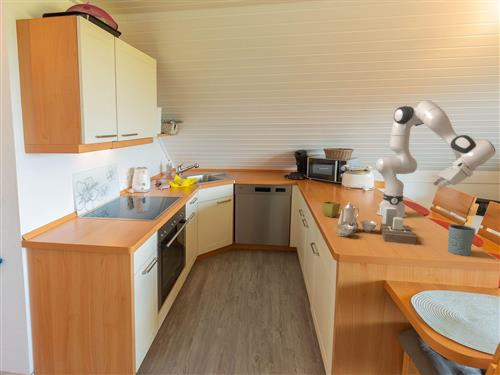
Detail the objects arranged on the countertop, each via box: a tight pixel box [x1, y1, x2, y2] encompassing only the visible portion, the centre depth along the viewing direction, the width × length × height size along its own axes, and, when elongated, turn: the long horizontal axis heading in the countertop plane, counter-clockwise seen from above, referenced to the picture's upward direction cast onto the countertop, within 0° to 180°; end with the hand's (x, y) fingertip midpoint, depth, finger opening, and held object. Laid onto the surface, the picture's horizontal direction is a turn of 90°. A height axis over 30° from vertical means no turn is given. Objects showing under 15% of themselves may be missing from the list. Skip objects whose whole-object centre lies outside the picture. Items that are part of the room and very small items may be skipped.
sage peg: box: [392, 217, 404, 231], centre depth 164 cm, size 4×4×10 cm
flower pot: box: [321, 200, 341, 218], centre depth 204 cm, size 9×9×9 cm
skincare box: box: [381, 207, 397, 224], centre depth 178 cm, size 6×4×12 cm
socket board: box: [379, 222, 417, 245], centre depth 164 cm, size 20×14×4 cm
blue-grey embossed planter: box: [447, 223, 476, 257], centre depth 142 cm, size 10×10×12 cm
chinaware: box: [334, 201, 378, 238], centre depth 170 cm, size 28×17×17 cm, turn 124°
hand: (436, 186), depth 159 cm, fingers open, 8 cm apart
